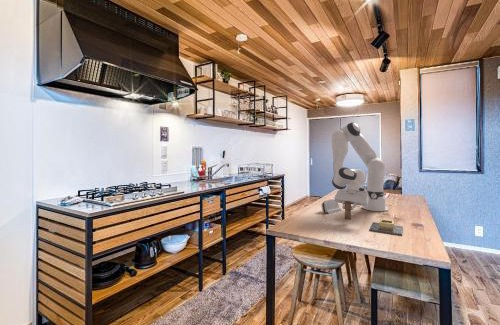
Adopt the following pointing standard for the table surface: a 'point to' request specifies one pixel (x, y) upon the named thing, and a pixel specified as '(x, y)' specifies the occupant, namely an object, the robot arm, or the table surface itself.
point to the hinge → (330, 206)
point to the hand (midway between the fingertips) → (347, 208)
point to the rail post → (347, 210)
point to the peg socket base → (386, 227)
